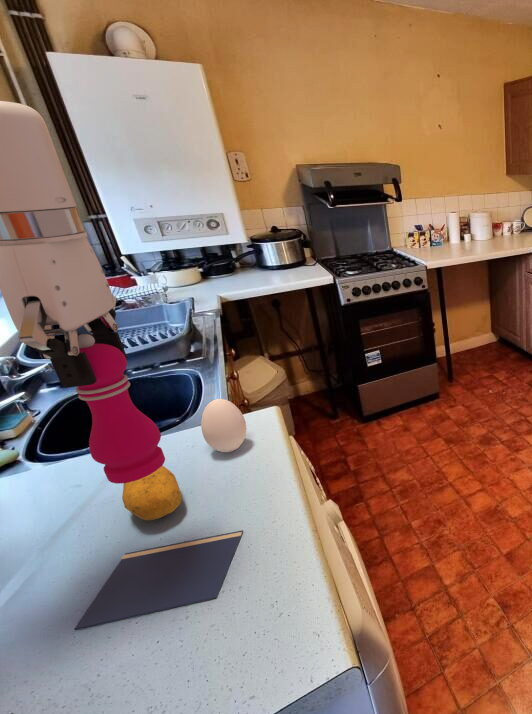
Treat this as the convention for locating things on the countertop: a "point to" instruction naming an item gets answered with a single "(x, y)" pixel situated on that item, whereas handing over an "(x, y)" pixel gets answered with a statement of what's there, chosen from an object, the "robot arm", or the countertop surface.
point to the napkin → (163, 579)
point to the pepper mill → (117, 418)
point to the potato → (152, 495)
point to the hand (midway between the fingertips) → (97, 371)
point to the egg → (223, 425)
